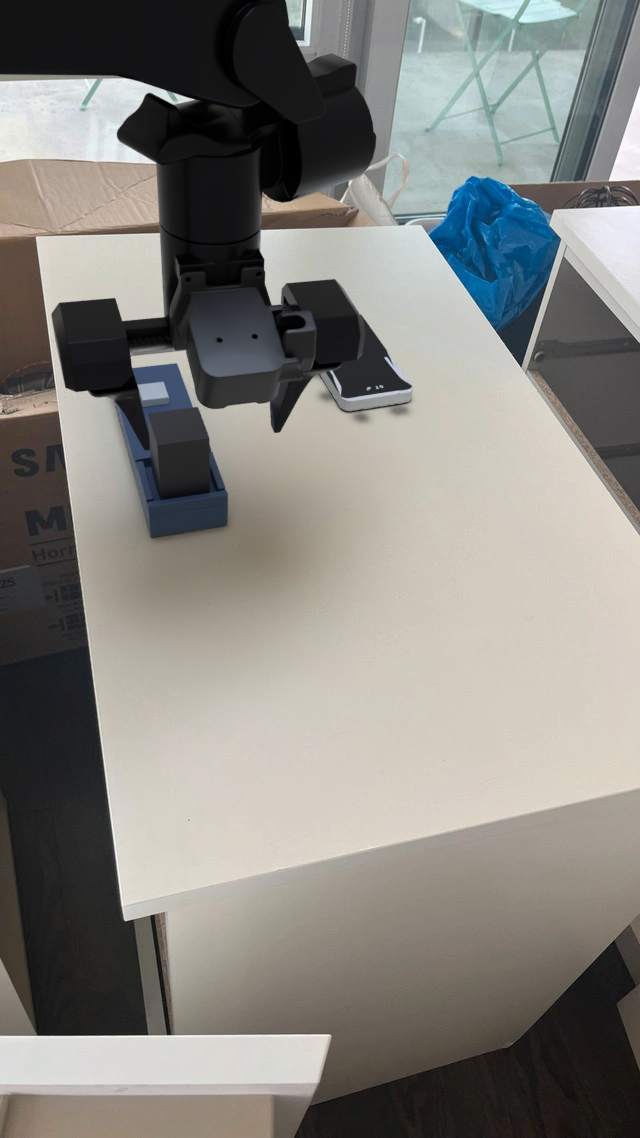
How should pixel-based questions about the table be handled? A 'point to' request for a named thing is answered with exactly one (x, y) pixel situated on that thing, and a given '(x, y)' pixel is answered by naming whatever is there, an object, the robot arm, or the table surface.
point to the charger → (179, 452)
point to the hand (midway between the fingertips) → (212, 438)
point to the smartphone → (368, 378)
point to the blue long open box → (163, 517)
